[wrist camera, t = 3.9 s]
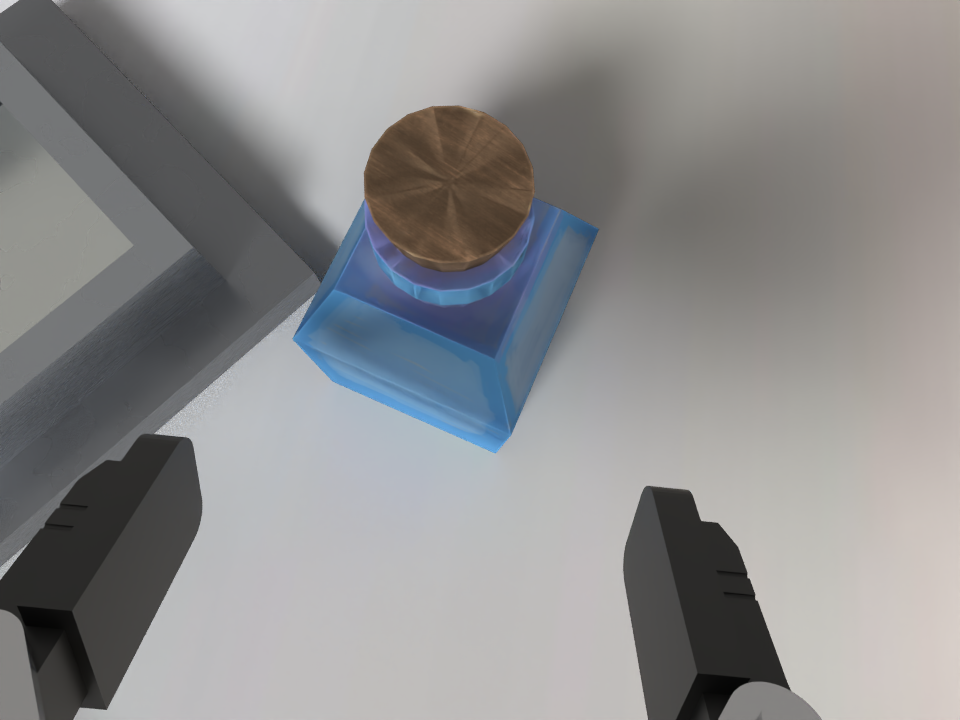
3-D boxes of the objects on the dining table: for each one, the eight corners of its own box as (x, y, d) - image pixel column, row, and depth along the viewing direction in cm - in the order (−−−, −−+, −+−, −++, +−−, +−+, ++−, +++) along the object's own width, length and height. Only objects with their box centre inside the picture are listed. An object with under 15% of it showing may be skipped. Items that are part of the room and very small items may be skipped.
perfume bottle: (332, 381, 24) (218, 261, 12) (407, 229, 25) (369, -12, 13) (495, 453, 24) (540, 401, 12) (562, 296, 25) (662, 109, 13)
